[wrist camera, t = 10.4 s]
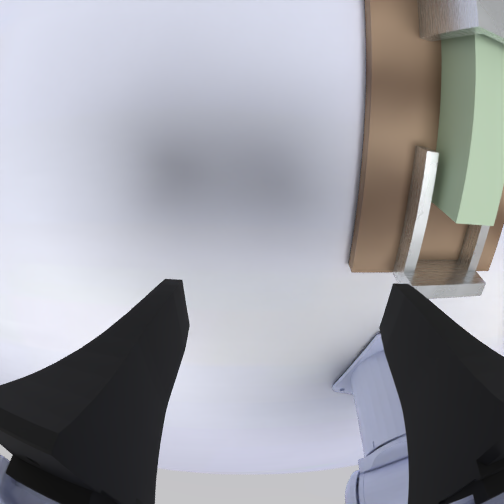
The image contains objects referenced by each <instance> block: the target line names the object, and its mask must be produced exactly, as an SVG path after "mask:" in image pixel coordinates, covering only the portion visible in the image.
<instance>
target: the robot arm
mask: <svg viewBox="0 0 504 504" xmlns="http://www.w3.org/2000/svg"><path fill="white" fill-rule="evenodd" d="M379 328H380V333H381V334H378V335H376V336H375V338H374V339H373V340H372V341H371V342H370V344H369V345H368V346H367V347H366V349H365V350H364V351H363V352H362V353H361V354H360V356H359V357H358V358H357V359H356V360H355V361H354V363H353V364H352V365H351V366H350V367H349V368H348V369H347V371H346V372H345V373H344V374H343V375H342V376H341V377H340V378H339V379H338V381H337V382H336V383H335V384H334V385H333V386H332V387H333V391H335V392H341V393H347V394H353V395H354V400H355V405H356V410H357V416H358V421H359V427H360V433H361V439H362V445H363V451H364V458H362V459H359V460H358V463H359V470H357V471H355V472H353V474H352V475H351V477H350V479H349V481H348V483H347V486H346V491H345V503H346V504H504V357H503V356H502V355H500V354H498V353H497V352H495V351H494V350H492V349H491V348H489V347H488V346H486V345H485V344H483V343H482V342H480V341H479V340H478V339H476V338H475V337H473V336H472V335H471V334H470V333H468V332H467V331H466V330H464V329H463V328H462V327H461V326H459V325H458V324H457V323H456V322H454V321H453V320H452V319H451V318H450V317H448V316H447V315H446V314H445V313H444V312H443V311H441V310H440V309H439V308H438V307H437V306H436V305H434V304H433V303H432V302H431V301H430V300H429V299H427V298H426V297H425V296H424V295H423V294H421V293H420V292H419V291H418V290H416V289H415V288H414V287H412V286H411V285H410V284H393V286H392V289H391V293H390V296H389V299H388V303H387V306H386V309H385V312H384V315H383V318H382V321H381V324H380V327H379ZM188 331H189V319H188V313H187V307H186V301H185V295H184V289H183V282H182V280H174V279H165V280H163V281H162V282H161V283H160V284H159V285H158V286H157V287H156V288H154V289H153V290H152V291H151V292H150V293H149V294H148V295H147V296H146V297H145V298H144V299H142V300H141V301H140V302H139V303H138V304H137V305H136V306H135V307H133V308H132V309H131V310H130V311H129V312H128V313H127V314H126V315H124V316H123V317H122V318H121V319H119V320H118V321H117V322H116V323H115V324H113V325H112V326H111V327H110V328H108V329H107V330H106V331H105V332H103V333H102V334H101V335H99V336H98V337H96V338H95V339H94V340H92V341H91V342H89V343H88V344H86V345H85V346H83V347H82V348H80V349H79V350H77V351H75V352H73V353H72V354H70V355H68V356H67V357H65V358H63V359H61V360H60V361H58V362H56V363H54V364H52V365H50V366H48V367H46V368H44V369H42V370H40V371H37V372H35V373H33V374H31V375H28V376H26V377H23V378H20V379H18V380H15V381H12V382H9V383H6V384H3V385H0V444H1V445H2V446H3V447H4V448H6V449H7V450H8V451H9V452H10V453H11V454H13V456H12V458H11V461H9V460H8V459H6V458H5V457H3V456H2V455H0V504H155V487H156V475H157V465H158V457H159V449H160V442H161V436H162V430H163V424H164V419H165V413H166V409H167V405H168V401H169V398H170V395H171V392H172V389H173V386H174V383H175V379H176V376H177V373H178V370H179V367H180V364H181V361H182V358H183V354H184V351H185V347H186V342H187V337H188Z"/></svg>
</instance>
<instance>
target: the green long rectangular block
mask: <svg viewBox="0 0 504 504" xmlns="http://www.w3.org/2000/svg"><path fill="white" fill-rule="evenodd" d="M441 56H442V71H441V101H440V116H439V128H438V138H437V147H436V152H438V153H439V157H438V165H437V171H436V178H435V184H434V189H433V195H432V200H431V202H432V203H433V204H435V205H436V206H437V207H438V208H439V209H440V210H442V211H443V212H444V213H445V214H446V215H447V216H448V217H449V218H451V219H452V220H453V221H454V222H455V223H458V224H472V225H485V226H494V223H495V219H496V215H497V211H498V207H499V203H500V199H501V195H502V190H503V185H504V44H503V43H501V42H499V41H497V40H495V39H493V38H490V37H488V36H486V35H484V34H476V35H468V36H461V37H455V38H449V39H443V40H441Z"/></svg>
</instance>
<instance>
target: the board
mask: <svg viewBox="0 0 504 504" xmlns="http://www.w3.org/2000/svg"><path fill="white" fill-rule="evenodd" d="M364 1H365V21H366V101H365V123H364V139H363V152H362V164H361V175H360V184H359V194H358V202H357V210H356V218H355V226H354V233H353V240H352V246H351V253H350V259H349V266H350V269H351V272H393V269H394V265H395V261H396V256H397V252H398V248H399V243H400V239H401V234H402V229H403V224H404V219H405V214H406V208H407V202H408V197H409V190H410V184H411V177H412V170H413V162H414V154H415V145H416V146H422V147H428V148H430V149H432V150H434V151H436V147H437V138H438V128H439V116H440V101H441V71H442V56H441V40H438V41H432V42H431V41H428V40H424V39H421V38H420V32H419V14H418V1H417V0H364ZM503 224H504V185H503V190H502V195H501V199H500V203H499V207H498V211H497V215H496V219H495V223H494V226H490V227H489V231H488V234H487V238H486V241H485V244H484V247H483V251H482V254H481V257H480V260H479V262H478V265H477V268H476V271H488V270H489V267H490V265H491V262H492V259H493V256H494V253H495V250H496V247H497V244H498V241H499V238H500V234H501V231H502V228H503ZM467 227H468V224H458V223H455V222H454V221H453V220H452V219H451V218H449V217H448V216H447V215H446V214H445V213H444V212H443V211H442V210H440V209H439V208H438V207H437V206H436V205H435V204H433V203H432V202H431V205H430V210H429V215H428V220H427V224H426V229H425V233H424V237H423V241H422V245H421V249H420V253H419V257H418V260H458V258H459V255H460V251H461V248H462V245H463V241H464V238H465V234H466V231H467Z"/></svg>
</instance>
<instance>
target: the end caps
mask: <svg viewBox="0 0 504 504" xmlns="http://www.w3.org/2000/svg"><path fill="white" fill-rule="evenodd" d="M417 1H418V14H419V32H420V38H421V39H424V40H428V41H431V42H432V41H438V40H443V39H449V38H455V37H461V36H468V35H476V34H484V35H486V36H488V37H490V38H493V39H495V40H497V41H499V42H501V43H503V44H504V0H417ZM438 157H439V153H438V152H436V151H434V150H432V149H430V148H428V147H422V146H416V145H415V154H414V162H413V170H412V177H411V184H410V190H409V197H408V202H407V208H406V214H405V219H404V224H403V229H402V234H401V239H400V243H399V248H398V252H397V256H396V261H395V265H394V269H393V274H394V276H395V277H396V279H397V281H398V283H399V284H410V285H411V286H412V287H414V288H415V289H416V290H418V291H419V292H420V293H421V294H423V295H424V296H425V297H426V298H427V299H434V298H451V297H466V296H480V295H481V294H482V291H483V289H484V286H485V284H486V283H485V282H484V280H483V279H482V278H481V277H480V276H479V274H478V273H477V272H476V268H477V265H478V262H479V260H480V257H481V254H482V251H483V247H484V244H485V241H486V238H487V234H488V231H489V227H490V226H485V225H472V224H468V227H467V231H466V234H465V238H464V241H463V245H462V248H461V251H460V255H459V258H458V260H418V257H419V253H420V249H421V245H422V241H423V237H424V233H425V229H426V224H427V220H428V215H429V210H430V205H431V200H432V195H433V189H434V184H435V178H436V171H437V165H438Z"/></svg>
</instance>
